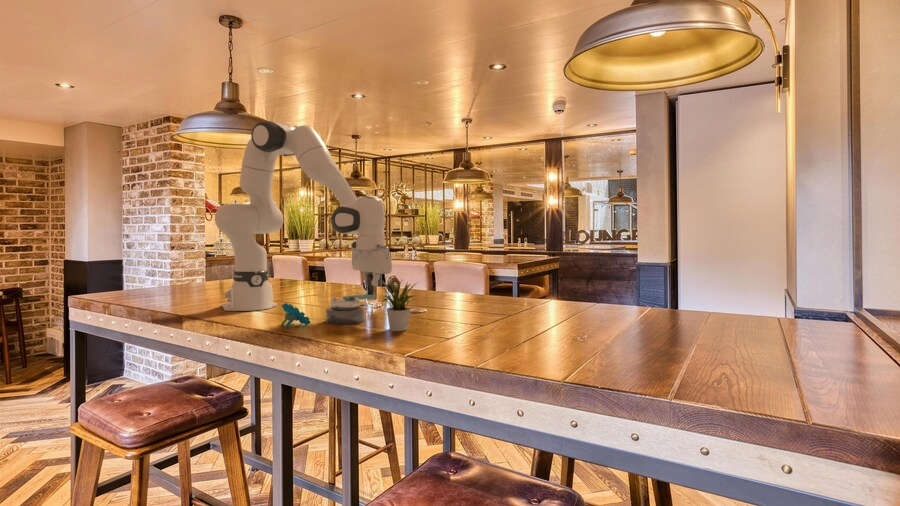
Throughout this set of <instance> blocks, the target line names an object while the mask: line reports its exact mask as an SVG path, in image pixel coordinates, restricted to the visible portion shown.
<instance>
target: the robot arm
mask: <svg viewBox="0 0 900 506" xmlns="http://www.w3.org/2000/svg"><path fill="white" fill-rule="evenodd" d="M250 134H251V137H250V139H249V140H248V141H247V144H246V147H245V149H244V152H243V158H242V161H241V162H242V163H241V169H240V176H239V187H240V189H241V191H242V192H244V193H245V194H247V195H248V196H249V204H247V203H246V204H245V203H229V204H225V205H220V206H219V207H218V208H217V210H216V212H215V214H214V222H215V223H214V224H215V225H216V227H217V229H219V231H221V232H222V233H223V234H224V235H225V236H226V237H227V239H228V241H229V242H230V243H231V246H232V248H233V252H234V254H233V255H234V271H233V274H232V276H233V277H232V279H233V282H232V284H231V285H230V288H229V289H228V290H227V291H225V292H224V298H225V299H227V302H222V304H221V306H222V308H223V309H224V311H229V312H230V311H231V312H232V311H233V312H234V311H237V312H239V311H240V312H244V311H245V312H247V311H249V312H250V311H261V310H268V309H271V308H273V307H277V306H278V305H277V304H278V303H276V302H274V295H273V285H272V284H271V283H270V282H269V281H268V280H269V270H268V258H267V256H268V254H267V253H268V252H267V250H266V248H265V247H264V246H263V245H261V244H259V243H258V242H257V241H256V239H255V235H262V234H264V235H267V234H271V233H272V234H273V233H276V232H279V231H280V230H281V228H282V226H283V224H284V215H283V213H282V211H281V210H280V208H278V206H277V205H276V204H275V201H274V198H273V197H274V196H273V191H272V190H273V180H274V173H275V168H276V167H275V165H276V160H277V159H278V157H280V156H281V155H282V156H283V157H291V156H292V157H293V156H294V157H295V158H296V160H297V162H298V165H299V166H300V168H301V170H302V171H303V172H304V174H306V176H307V177H308V178H309V179H310V180H312V181H314V182H316V183H318V184H320V185H322V186H324V187H325V188H327V189H328V190H329V191H331V192H332V193H333V194H334V196H335V198H336V199H337V200H338V202H339V204H340V206H338V207H336V209H335V210H333V211H332V214H331V217H330V219H331V221H330V223H331V226H332V228H333V229H334V230H335V231H336V232H337V233H339V234H343V235H357V239H356V240H354V241H352V242H351V245H350V248H351V249H352V250H351V267H352V269H353V271H360V272H362V273H361V275H362V277H363V279H364V282H363V283H364V285H366V286H367V274H368V273H373V276H374V277H373V281H371V283H372V284H371V285H372V286H374V287H379V281H380V277H381V274H382V275H387V274H391V272H392V270H393V265H392V264H393V263H392V255H391V252H390V248H389V247H388V246H387V245H385V243H386V242H385V241H386V237H385V236H386V234H385V229H384V227H385V224H386V213H385V205H384V202H383V200H382V199H381V198H379V197H375V196H369V195H362V196H360V197H359V198H358V196H357V195H356V193H355V191H354V190H353V188H352V186H351V185H350V183H349V181H347V179H346V177H344V175H343V173H342V171H341V169H340V168H339V166H338V165H337V163H336V162H335V160H334V158H333V156H332V154H331V152H330V151H329V149H328V147H327V145H326V144H325V142H324V140H323V139H322V138H321V136H320V135H319V134H318V132H317V131H316V130H315V129H314V128H313V127H312V126H310V125H306V124H303V125H299V126H297V125H292V124H289V123H285V122H279V121H278V122H277V121H271V120H262V121H258V122H256V124H254V126H253V127H252V130H251V132H250Z"/></svg>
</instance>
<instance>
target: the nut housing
mask: <svg viewBox="0 0 900 506" xmlns="http://www.w3.org/2000/svg"><path fill="white" fill-rule="evenodd" d="M325 319H326V321H325V322H326V323H327V324H329V325H335V326H337V325H339V326H340V325H341V326H347V325H356V324H361V323H363V322H365V308H364V307H363V305H359V308H358V309H354V310H333V309H331V307H328V308H326V309H325Z"/></svg>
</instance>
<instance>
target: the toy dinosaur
mask: <svg viewBox="0 0 900 506" xmlns="http://www.w3.org/2000/svg"><path fill="white" fill-rule="evenodd" d="M281 308H283V311H284V312H285V313H284V319H283V321H282V322H281V323H280V325H281V326H282V327H283V326H284V327H285V328H286V329H288V328H289V327H290V326H291V324H292V323H293V322H294V321H296V322H299V323H300V324H301V325H306V326H308V325H310V324H311V323H312V322H311V321H310V318H309V317H308V316H305V315H306V313H305V312H304V311H300V310H299V309H300V308H298V307H296V306H295V307H294V306H293V304H290V303H289V304H288V303H286V302H285V303H283V304H282V305H281ZM285 323H286V324H285Z"/></svg>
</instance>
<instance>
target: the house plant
mask: <svg viewBox="0 0 900 506" xmlns="http://www.w3.org/2000/svg"><path fill="white" fill-rule="evenodd" d="M380 281H382V282H379V281H378V284H382V285H383V286H385V287H383V286H382V285H379V287H380V288H382V289H383V290H384V291H385V292H386V294H387V295H384V296H381V298H382V302H381V303H382V304H383V303H384V302H387V304H388V305H390V307H388V308H386V313H387V320H388V327H389V330H390V331H392V332H403V331H404V332H405V331H407V330H408V326H409V320H410V314H411V308H410V307H407V306H408V304H410V302H412V301H414V300H415V298H413V297H417V296H418V295H416V294H415V295H409V292H410V291H411V290H412V289H413V288H414V287H415V286H416V285H417V284H418V283H420V281H418V282H416V283H414V284H413V285H412V283H410V284H409V283H408V281H407V282H406V284H405V285H404V289H403V290H402V292H401V293H400V287H401V283H402V282H403V280H400V281H399V283H398V286H397V287H396V285H395V283H394V280H393V279H392V278H390V284H391V285H392V286H391V288H392V290H391V288H390V287H389V286H388V284H387V283H386V282H385V281H384V280H382V279H380ZM386 289H387V290H388V291H387V290H386ZM388 292H389V293H388ZM391 296H392V297H391ZM411 298H412V299H411ZM409 299H410V300H409Z"/></svg>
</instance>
